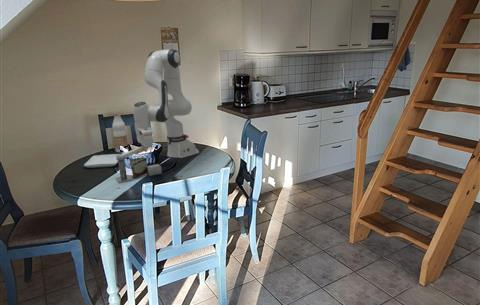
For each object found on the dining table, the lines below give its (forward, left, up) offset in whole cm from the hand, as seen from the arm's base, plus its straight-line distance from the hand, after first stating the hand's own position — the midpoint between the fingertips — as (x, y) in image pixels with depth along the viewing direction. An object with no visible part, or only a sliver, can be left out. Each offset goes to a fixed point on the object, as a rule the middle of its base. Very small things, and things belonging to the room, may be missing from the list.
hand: (145, 151), depth 227 cm
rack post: (+16, +5, -13) cm, 21 cm away
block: (-2, +6, -13) cm, 15 cm away
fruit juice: (+2, -56, -13) cm, 57 cm away
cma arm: (+8, 0, 0) cm, 8 cm away
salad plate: (+19, -34, -14) cm, 41 cm away
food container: (+7, +3, -13) cm, 15 cm away
